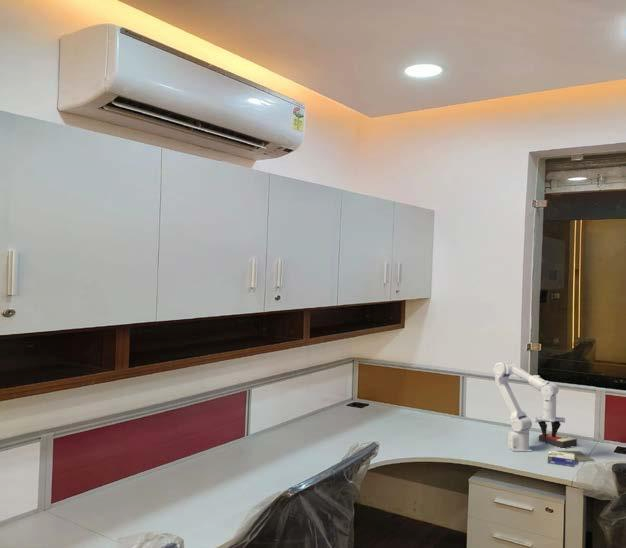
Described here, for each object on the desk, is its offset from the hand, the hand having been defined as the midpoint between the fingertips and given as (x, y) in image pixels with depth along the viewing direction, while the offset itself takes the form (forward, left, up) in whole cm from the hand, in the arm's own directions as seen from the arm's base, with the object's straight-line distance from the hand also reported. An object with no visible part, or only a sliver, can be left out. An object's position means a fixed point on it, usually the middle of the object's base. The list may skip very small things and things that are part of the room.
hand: (549, 437), depth 269 cm
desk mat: (+13, 0, -9) cm, 16 cm away
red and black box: (+14, +21, -10) cm, 27 cm away
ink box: (+6, -1, -8) cm, 10 cm away
